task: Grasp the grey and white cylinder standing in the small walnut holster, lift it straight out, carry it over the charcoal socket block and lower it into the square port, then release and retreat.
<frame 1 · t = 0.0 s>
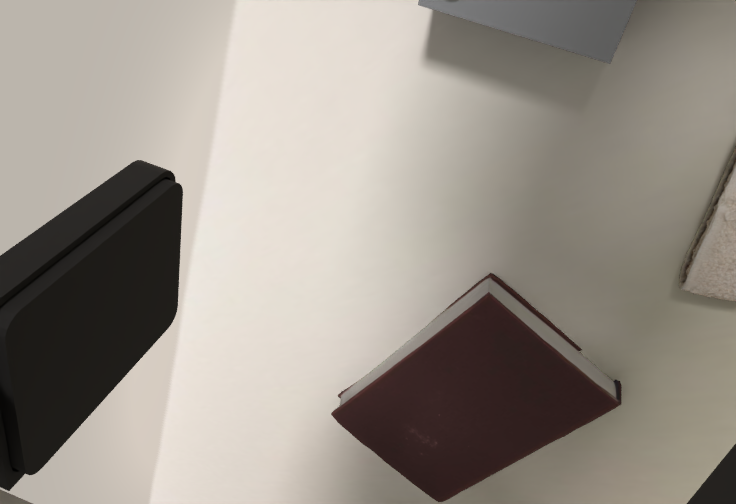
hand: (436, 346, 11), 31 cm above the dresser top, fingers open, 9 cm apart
book: (468, 384, 54), on the dresser top
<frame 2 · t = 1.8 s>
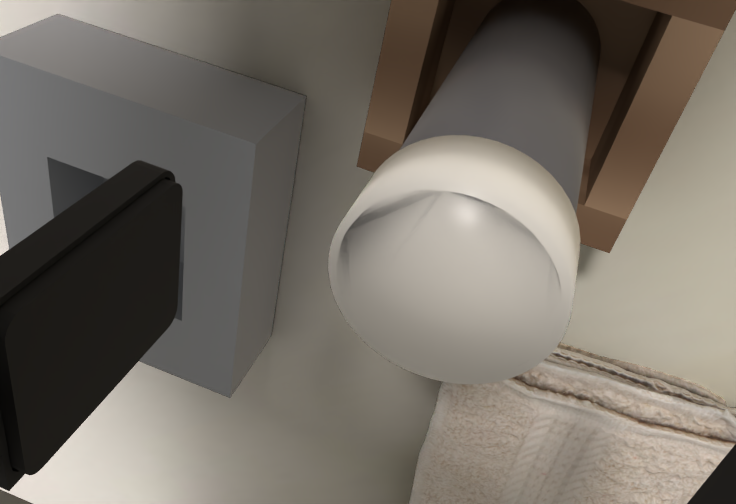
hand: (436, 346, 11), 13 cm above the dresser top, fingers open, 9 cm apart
port: (175, 191, 29), on the dresser top
holster: (538, 46, 21), on the dresser top
washcloth: (551, 478, 32), on the dresser top
grey and white cylinder: (535, 52, 20), point 1 cm above the dresser top, touching holster
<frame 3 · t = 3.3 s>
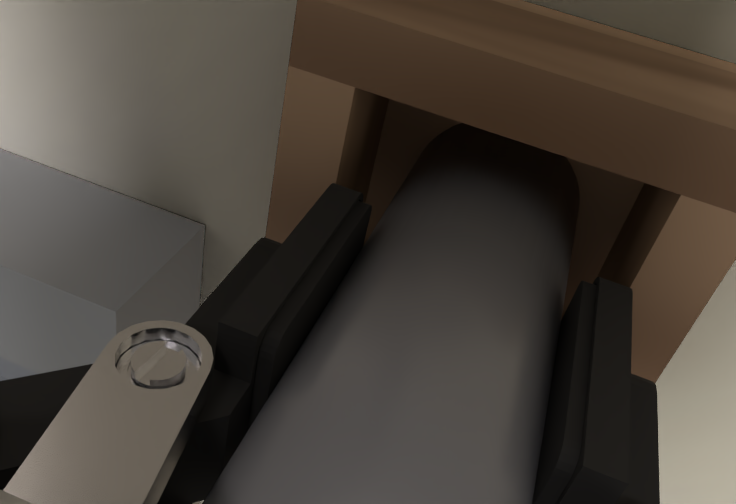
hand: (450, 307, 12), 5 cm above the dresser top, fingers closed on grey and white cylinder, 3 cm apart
port: (60, 320, 23), on the dresser top
holster: (497, 185, 15), on the dresser top
grey and white cylinder: (492, 197, 15), point 1 cm above the dresser top, touching gripper, holster
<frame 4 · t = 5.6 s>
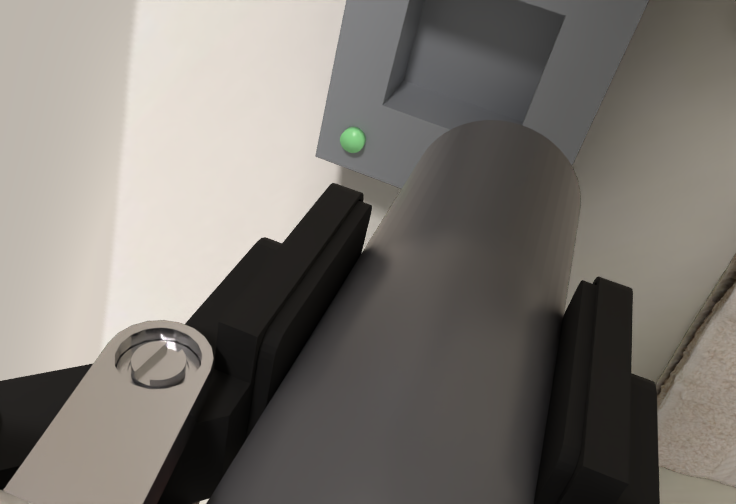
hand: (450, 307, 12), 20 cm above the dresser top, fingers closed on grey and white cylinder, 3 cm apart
port: (486, 33, 29), on the dresser top
grey and white cylinder: (493, 199, 15), point 16 cm above the dresser top, touching gripper
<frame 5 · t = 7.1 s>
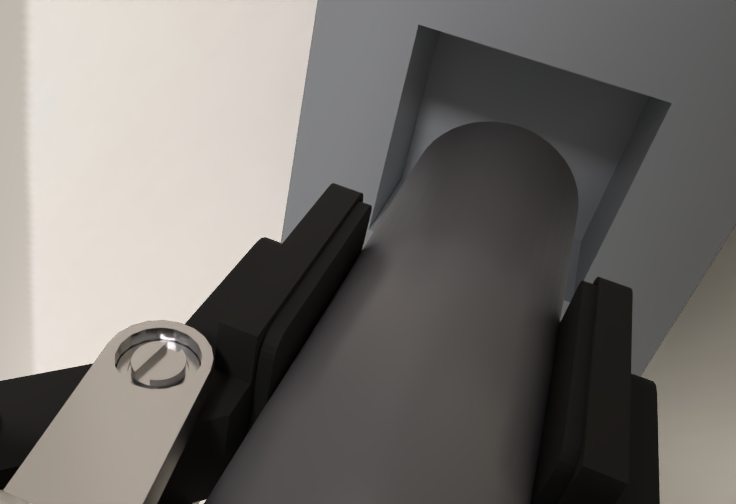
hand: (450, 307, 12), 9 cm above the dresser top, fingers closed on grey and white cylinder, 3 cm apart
port: (524, 112, 19), on the dresser top
grey and white cylinder: (491, 200, 15), point 5 cm above the dresser top, touching gripper
when the fingers open (6 cm above the dresser top, at t = 8.0 s): grey and white cylinder stays where it is, resting on port.
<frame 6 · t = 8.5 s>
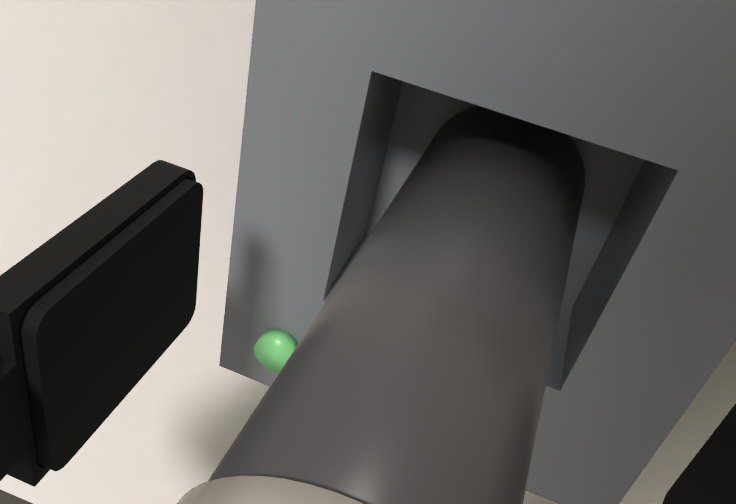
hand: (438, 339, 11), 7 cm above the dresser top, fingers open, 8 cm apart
port: (506, 159, 16), on the dresser top
grey and white cylinder: (501, 178, 16), point 1 cm above the dresser top, touching port
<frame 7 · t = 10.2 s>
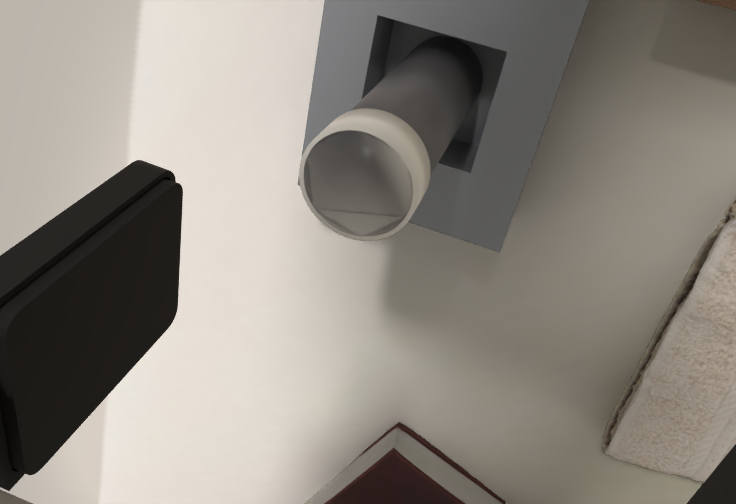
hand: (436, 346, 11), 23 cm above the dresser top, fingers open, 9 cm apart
port: (446, 70, 32), on the dresser top
grey and white cylinder: (443, 76, 31), point 1 cm above the dresser top, touching port
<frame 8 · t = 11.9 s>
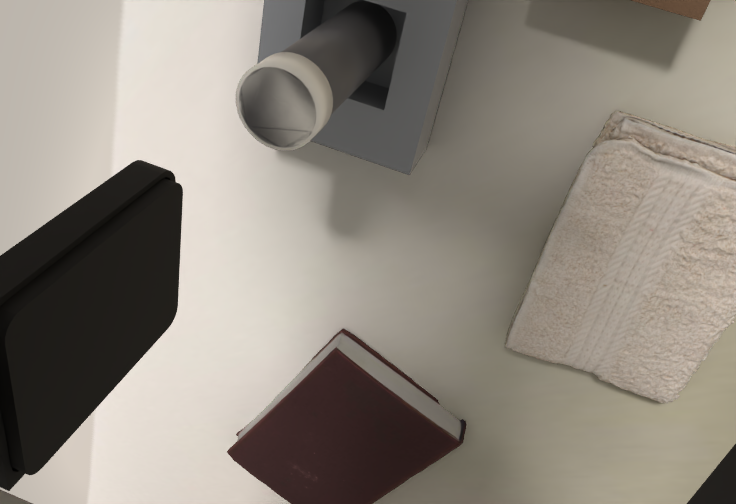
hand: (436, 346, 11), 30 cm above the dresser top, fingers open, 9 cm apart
port: (370, 29, 40), on the dresser top
book: (344, 423, 60), on the dresser top
washcloth: (641, 257, 43), on the dresser top
grey and white cylinder: (366, 33, 39), point 1 cm above the dresser top, touching port
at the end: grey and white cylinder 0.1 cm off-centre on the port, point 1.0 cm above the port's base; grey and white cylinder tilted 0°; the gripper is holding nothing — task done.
